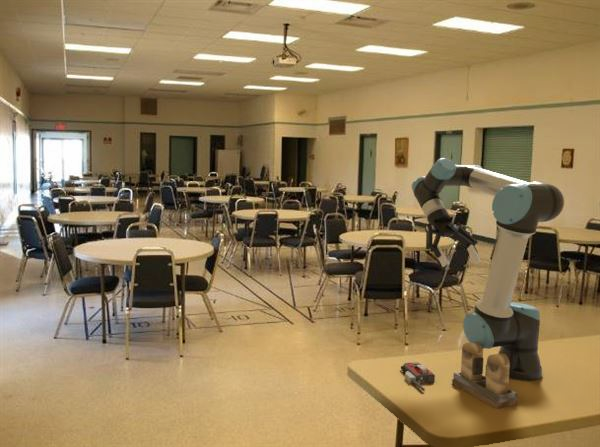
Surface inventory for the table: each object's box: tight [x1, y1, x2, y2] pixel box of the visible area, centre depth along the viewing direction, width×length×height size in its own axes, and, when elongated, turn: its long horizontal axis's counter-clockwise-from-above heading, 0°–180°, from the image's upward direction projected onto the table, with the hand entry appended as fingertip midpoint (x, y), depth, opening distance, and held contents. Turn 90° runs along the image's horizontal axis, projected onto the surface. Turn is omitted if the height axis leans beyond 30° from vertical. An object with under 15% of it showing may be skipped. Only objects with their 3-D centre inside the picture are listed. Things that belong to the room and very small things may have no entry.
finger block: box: [460, 342, 484, 381], centre depth 188 cm, size 4×6×12 cm
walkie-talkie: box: [400, 361, 436, 392], centre depth 194 cm, size 9×4×20 cm
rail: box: [451, 353, 519, 409], centre depth 183 cm, size 8×20×14 cm, turn 23°
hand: (461, 263), depth 204 cm, fingers open, 13 cm apart
